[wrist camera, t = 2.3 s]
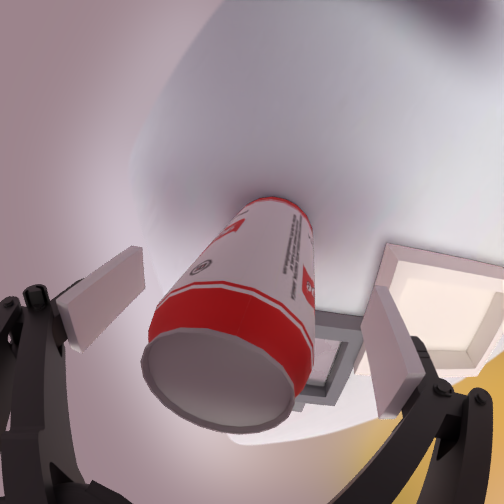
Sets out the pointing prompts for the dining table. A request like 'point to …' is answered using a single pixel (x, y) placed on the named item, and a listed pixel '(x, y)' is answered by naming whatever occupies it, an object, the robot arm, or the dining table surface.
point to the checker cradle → (352, 340)
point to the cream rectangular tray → (444, 307)
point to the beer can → (239, 324)
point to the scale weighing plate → (322, 360)
